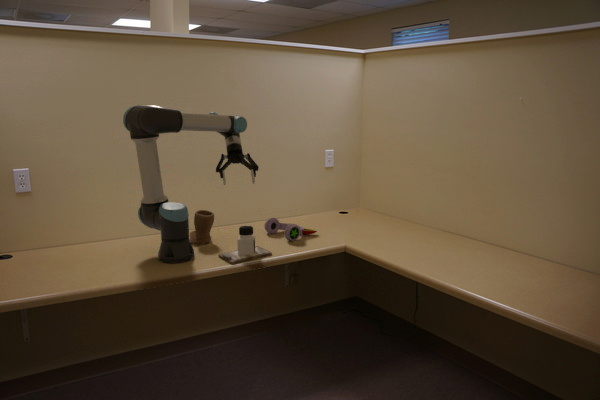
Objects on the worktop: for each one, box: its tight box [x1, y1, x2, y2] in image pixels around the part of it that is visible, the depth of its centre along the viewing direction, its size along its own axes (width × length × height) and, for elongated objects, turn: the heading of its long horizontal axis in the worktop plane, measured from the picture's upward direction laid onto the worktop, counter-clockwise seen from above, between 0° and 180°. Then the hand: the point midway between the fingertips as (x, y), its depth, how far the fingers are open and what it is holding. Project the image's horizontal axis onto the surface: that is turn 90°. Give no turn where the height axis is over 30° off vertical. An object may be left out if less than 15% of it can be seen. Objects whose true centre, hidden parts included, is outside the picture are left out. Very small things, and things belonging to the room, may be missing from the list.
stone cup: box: [189, 209, 215, 244], centre depth 217 cm, size 15×12×15 cm
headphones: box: [264, 217, 318, 242], centre depth 228 cm, size 20×10×20 cm
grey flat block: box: [217, 245, 273, 265], centre depth 197 cm, size 20×12×2 cm, turn 128°
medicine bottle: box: [237, 224, 256, 255], centre depth 196 cm, size 7×7×12 cm
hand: (239, 182), depth 208 cm, fingers open, 13 cm apart
